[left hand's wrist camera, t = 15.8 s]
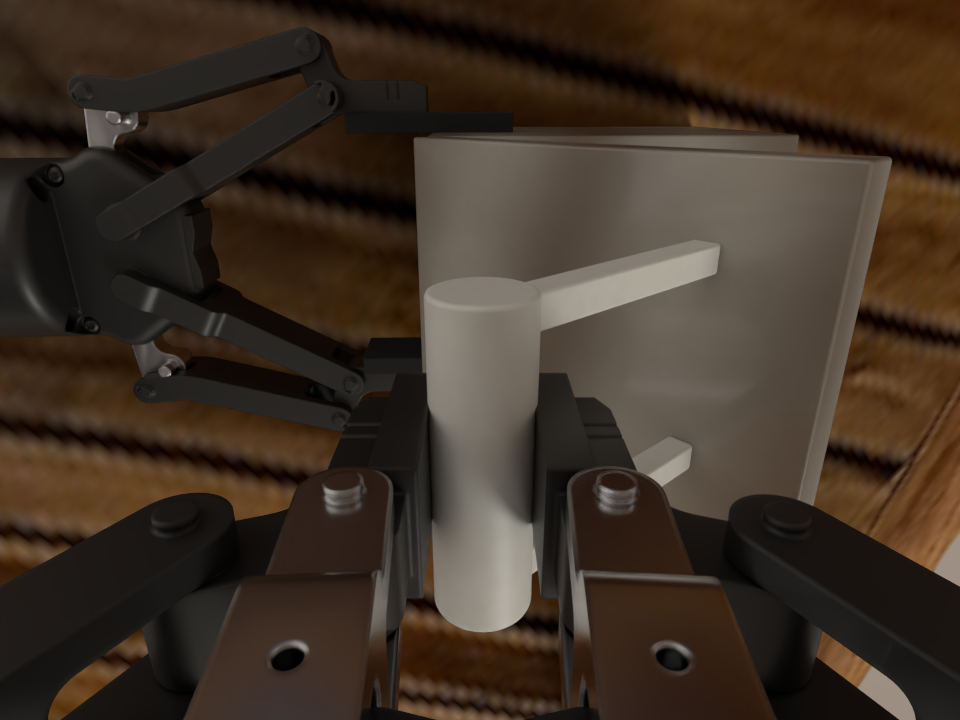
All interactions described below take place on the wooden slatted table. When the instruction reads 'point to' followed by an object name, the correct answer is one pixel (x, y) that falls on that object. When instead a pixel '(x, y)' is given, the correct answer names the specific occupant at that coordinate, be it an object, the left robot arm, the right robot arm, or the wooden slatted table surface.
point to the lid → (628, 327)
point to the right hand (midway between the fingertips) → (508, 245)
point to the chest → (649, 137)
